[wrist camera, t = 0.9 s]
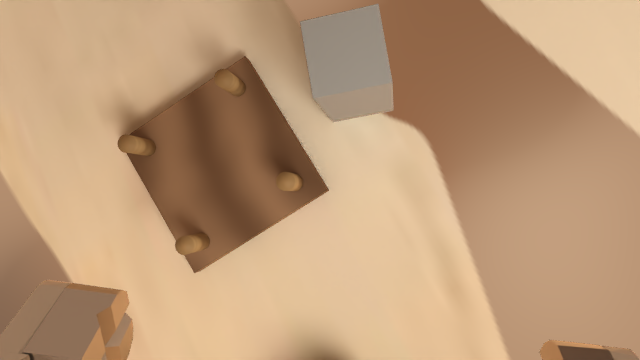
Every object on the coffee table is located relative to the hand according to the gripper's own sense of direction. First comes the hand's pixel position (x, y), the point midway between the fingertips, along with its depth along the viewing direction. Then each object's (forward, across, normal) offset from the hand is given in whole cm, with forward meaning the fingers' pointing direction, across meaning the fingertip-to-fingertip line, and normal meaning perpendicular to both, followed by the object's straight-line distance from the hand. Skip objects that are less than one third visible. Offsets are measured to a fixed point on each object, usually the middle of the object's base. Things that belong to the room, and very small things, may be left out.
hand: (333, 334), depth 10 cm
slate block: (+32, -2, +8) cm, 33 cm away
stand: (+29, +9, +15) cm, 34 cm away
